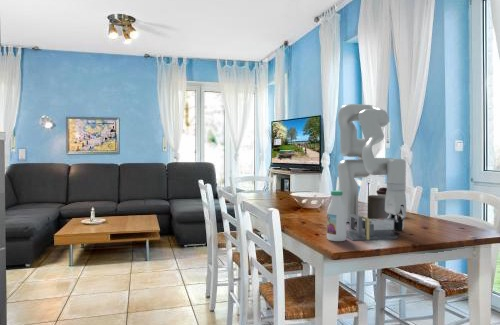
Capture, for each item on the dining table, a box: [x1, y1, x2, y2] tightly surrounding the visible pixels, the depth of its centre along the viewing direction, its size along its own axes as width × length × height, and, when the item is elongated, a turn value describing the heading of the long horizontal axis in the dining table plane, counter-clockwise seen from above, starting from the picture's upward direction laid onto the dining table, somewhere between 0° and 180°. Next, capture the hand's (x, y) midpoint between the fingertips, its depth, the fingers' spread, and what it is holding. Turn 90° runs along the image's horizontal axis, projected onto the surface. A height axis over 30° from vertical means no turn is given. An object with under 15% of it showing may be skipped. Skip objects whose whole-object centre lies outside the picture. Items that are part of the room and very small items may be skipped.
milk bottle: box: [326, 190, 347, 242], centre depth 151 cm, size 8×8×20 cm
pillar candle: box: [366, 193, 389, 219], centre depth 183 cm, size 10×10×15 cm
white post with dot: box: [369, 217, 405, 231], centre depth 157 cm, size 4×14×4 cm, turn 98°
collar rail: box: [346, 213, 399, 241], centre depth 156 cm, size 12×20×9 cm, turn 98°
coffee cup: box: [376, 187, 387, 196], centre depth 209 cm, size 10×10×15 cm
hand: (395, 229), depth 158 cm, fingers closed on white post with dot, 4 cm apart
